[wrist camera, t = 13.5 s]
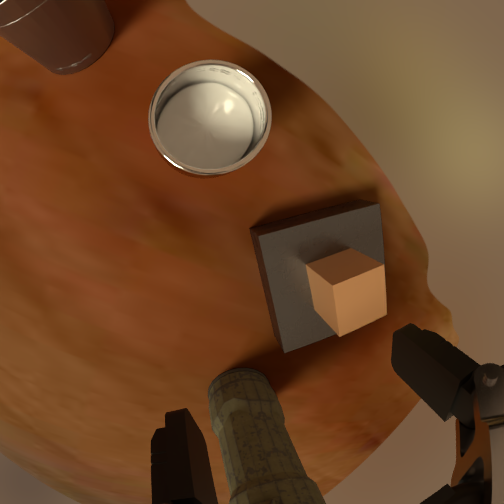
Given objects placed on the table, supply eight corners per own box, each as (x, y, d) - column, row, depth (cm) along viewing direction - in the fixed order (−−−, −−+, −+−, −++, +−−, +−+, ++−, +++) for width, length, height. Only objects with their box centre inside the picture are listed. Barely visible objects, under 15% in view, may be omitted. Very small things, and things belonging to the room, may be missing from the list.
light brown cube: (305, 264, 29) (332, 285, 24) (351, 247, 30) (383, 264, 24) (314, 309, 31) (339, 336, 25) (356, 292, 32) (386, 314, 26)
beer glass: (246, 142, 29) (301, 116, 15) (200, 190, 29) (213, 206, 15) (198, 98, 27) (211, 34, 12) (151, 146, 27) (117, 122, 13)
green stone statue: (246, 348, 35) (373, 627, 2) (284, 399, 39) (391, 602, 6) (187, 379, 35) (239, 653, 2) (232, 424, 39) (301, 631, 6)
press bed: (249, 228, 31) (258, 236, 28) (360, 199, 33) (379, 203, 30) (274, 335, 36) (284, 353, 32) (369, 300, 38) (385, 312, 34)
